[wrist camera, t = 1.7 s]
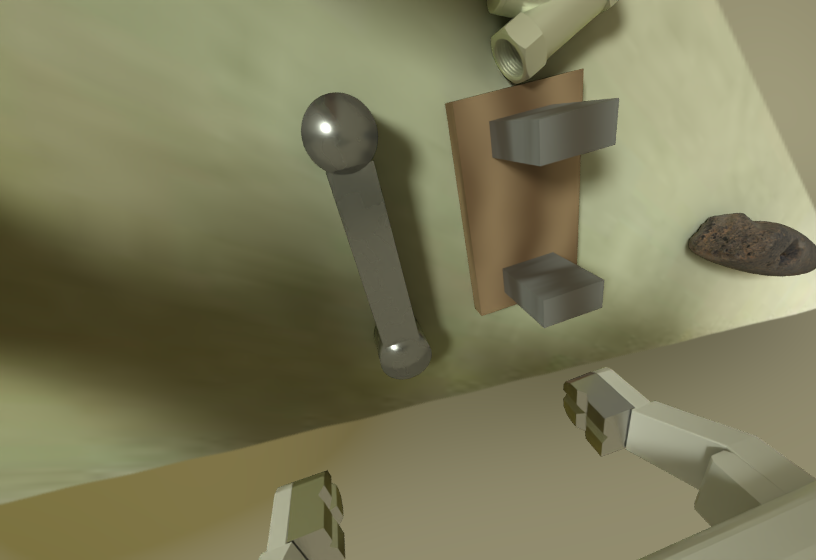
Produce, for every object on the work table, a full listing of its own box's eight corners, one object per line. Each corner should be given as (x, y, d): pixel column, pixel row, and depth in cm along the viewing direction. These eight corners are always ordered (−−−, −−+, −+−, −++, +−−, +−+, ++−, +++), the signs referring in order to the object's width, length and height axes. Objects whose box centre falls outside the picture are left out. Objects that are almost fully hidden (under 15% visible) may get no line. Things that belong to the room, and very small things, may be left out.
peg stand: (475, 308, 31) (515, 356, 25) (445, 103, 23) (494, 94, 16) (566, 277, 33) (627, 315, 26) (569, 71, 24) (662, 51, 18)
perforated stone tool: (778, 230, 37) (867, 251, 31) (748, 271, 39) (827, 298, 33) (696, 199, 32) (783, 216, 26) (667, 247, 34) (741, 273, 28)
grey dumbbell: (380, 356, 31) (388, 385, 28) (294, 106, 21) (288, 102, 17) (423, 342, 32) (435, 369, 28) (359, 91, 21) (366, 84, 18)
